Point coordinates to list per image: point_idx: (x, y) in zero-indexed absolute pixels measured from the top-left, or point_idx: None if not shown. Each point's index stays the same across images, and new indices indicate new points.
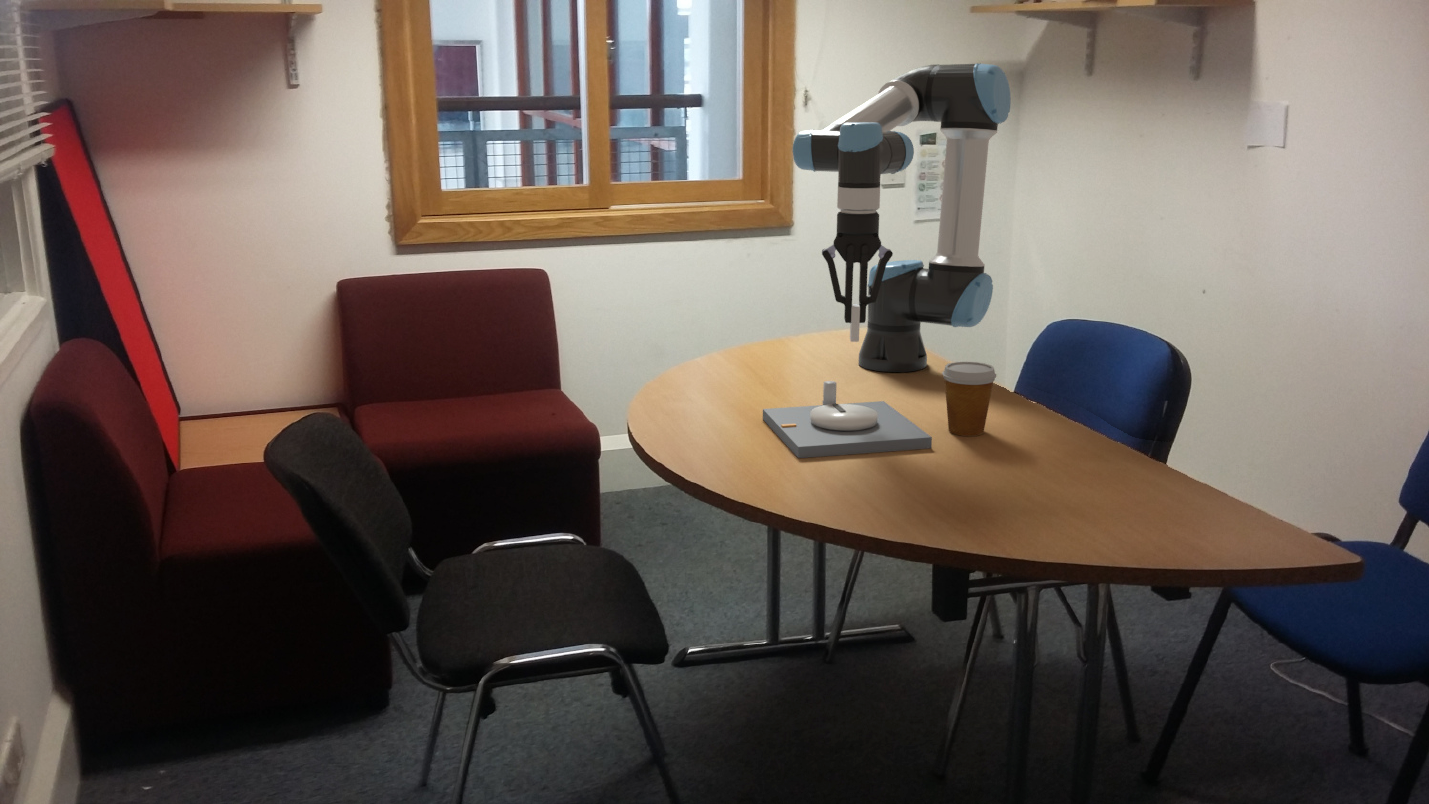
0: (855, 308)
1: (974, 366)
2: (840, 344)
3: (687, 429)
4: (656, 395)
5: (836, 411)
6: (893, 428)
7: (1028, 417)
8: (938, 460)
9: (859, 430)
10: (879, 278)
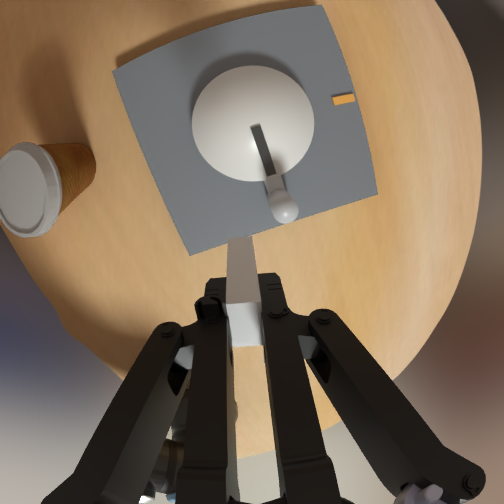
0: (244, 298)
1: (17, 215)
2: (255, 438)
3: (449, 146)
4: (454, 278)
5: (267, 131)
6: (167, 100)
7: (30, 243)
8: (115, 28)
9: None
10: (121, 410)
